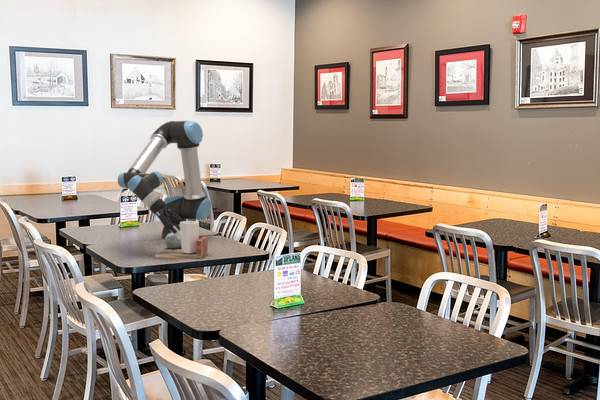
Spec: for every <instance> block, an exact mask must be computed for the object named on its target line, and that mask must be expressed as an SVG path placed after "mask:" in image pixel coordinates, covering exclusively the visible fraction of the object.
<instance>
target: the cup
mask: <svg viewBox="0 0 600 400" xmlns="http://www.w3.org/2000/svg"><path fill="white" fill-rule="evenodd" d="M180 232H181V233H182V234H183V235H184V236H183V237H182V238H181V247H182V248H181V251H182V252H183V253H185V254H193V253H196V241H197V240H199V239H200V223H199V221H195V220H186V221H184V222H180Z"/></svg>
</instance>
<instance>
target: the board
mask: <svg viewBox="0 0 600 400" xmlns="http://www.w3.org/2000/svg"><path fill="white" fill-rule="evenodd" d="M208 239H209V238H208V236H202V237H201V238H199V240H197V241H196V253H193V254H185V253H183V252H182V250H173V249H171V250H170V249H168V250H167V249H165V250H164V249H163V250H161V251H159V252H158V253H156V254H154V258H162V259H163V258H164V259H165V258H166V259H172V258H173V259H199V260H201V259H202V258H204V257H206V255H208V254H209V249H208V248H209V246H208V241H209V240H208Z"/></svg>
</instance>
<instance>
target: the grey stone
mask: <svg viewBox="0 0 600 400" xmlns="http://www.w3.org/2000/svg"><path fill="white" fill-rule="evenodd" d="M164 244H165V246H166V248H168V249H182V247H181V239H180V240H179V239H178V238H177V237H176V236H175V235H174V234H173V233H169V234H168V235H167V236H166V238H164Z"/></svg>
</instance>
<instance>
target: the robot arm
mask: <svg viewBox="0 0 600 400" xmlns="http://www.w3.org/2000/svg"><path fill="white" fill-rule="evenodd" d="M203 136H204V135H203V130H202V127H201V125H200V124H199V123H198V122H196V121H193V120H192V121H191V120H175V121H174V120H170V121H166V122H165V123H163V124H161V125H160V126H158V127H157V129H155V131H154V132H153V133H152V134H151V135H150V140H149V141H148V143H147V144H146V146H145V147H144V148H143V150H142V151H141V153H140V154H139V155H138V156H137V158H136V159H135V160H134V162H133V164H132V165H131V166H130V168H128V170H127V172H121V173H119V174H118V177H117V183H118V184H117V185H118V186H119V187H120V188H122V189H129V191H131V193H133V194H134V195H135V196H136V197H137V198H138V199H139V200H140V201H141V203H143V206H145V207H147V208H148V209H149V211H150V212H151V213H152V214H153V215H155V216H156V217H157V218H158V219H159V221H160V222H161V224H162V225H163V228H162V230H161V238H162V239H165V238H166V236H167V235H168V234H169V233H173V234H174V235H175V236H176V237H177V238H178V239H179V240H180V239H181V238H182V237H183V236H184V235H183V234H182V233H181V232H180V222H184V221H187V220H192V221H195V220H197V221H204V220H206V219H208V218H209V216H210V214H211V211H212V202H211V200H210V199H209V198H207V195H206V193H205V192H204V191H203V186H202V184H203V183H202V178H201V177H202V176H201V169H200V162H199V155H198V148H199V147H200V143H201V142H202V141H203ZM171 144H176V147H177V149H178V150H179V151H180V155H181V163H182V169H183V177H184V183H185V186H184V187H185V194H182V195H181V194H179V195H171V196H166V197H164V199H162V198H160V195H159V194H158V193H157V192H156V191H154V190H156V189H157V188H159V187H161V186H162V185H163V183H164V176H163V174H162V173H161V172H159V171H156V170H155V171H152V172H150V173H146V172H148V170H149V168H150V167H151V166H152V164H153V163H154V161H155V160H156V159H157V157H158V156H159V154H160V153H161V152H162V150H163V149H166V148H167V146H168V145H171Z"/></svg>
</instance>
